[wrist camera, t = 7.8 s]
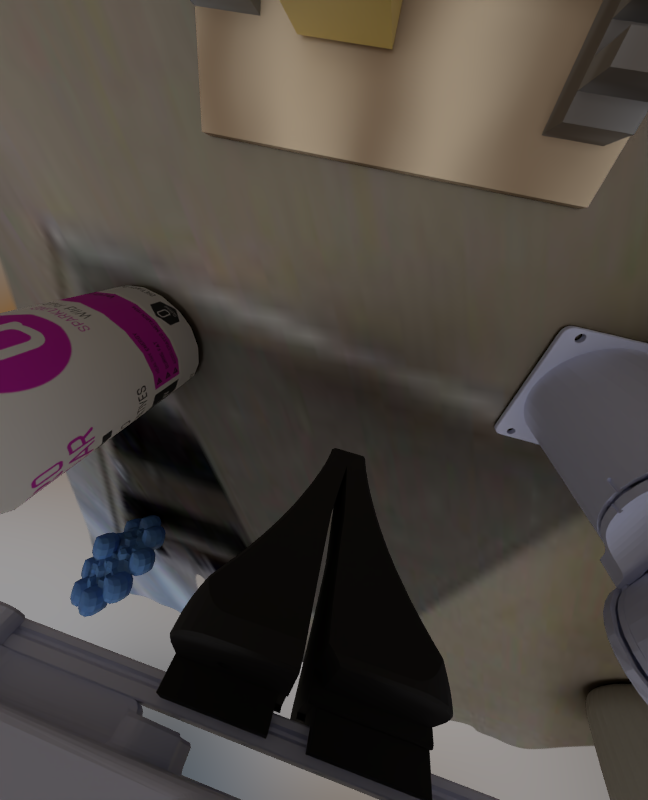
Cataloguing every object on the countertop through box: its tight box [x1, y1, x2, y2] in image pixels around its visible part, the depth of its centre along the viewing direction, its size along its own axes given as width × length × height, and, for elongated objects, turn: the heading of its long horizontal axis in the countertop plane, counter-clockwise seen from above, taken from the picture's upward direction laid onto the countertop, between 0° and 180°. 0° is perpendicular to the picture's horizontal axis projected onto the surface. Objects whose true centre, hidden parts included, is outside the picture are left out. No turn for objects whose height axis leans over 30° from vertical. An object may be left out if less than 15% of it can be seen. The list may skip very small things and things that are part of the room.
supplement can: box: [0, 285, 199, 514], centre depth 16 cm, size 8×8×15 cm
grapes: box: [70, 515, 165, 617], centre depth 34 cm, size 12×7×12 cm, turn 114°
